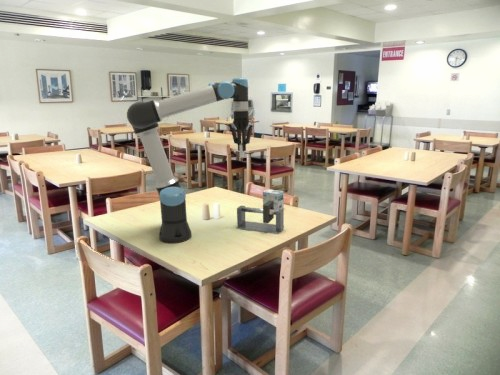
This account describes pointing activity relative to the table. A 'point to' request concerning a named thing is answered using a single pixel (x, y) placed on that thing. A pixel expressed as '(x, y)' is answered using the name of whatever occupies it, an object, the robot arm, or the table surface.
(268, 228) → the pipe rig
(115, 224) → the table surface
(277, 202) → the light bulb box
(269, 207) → the ring
